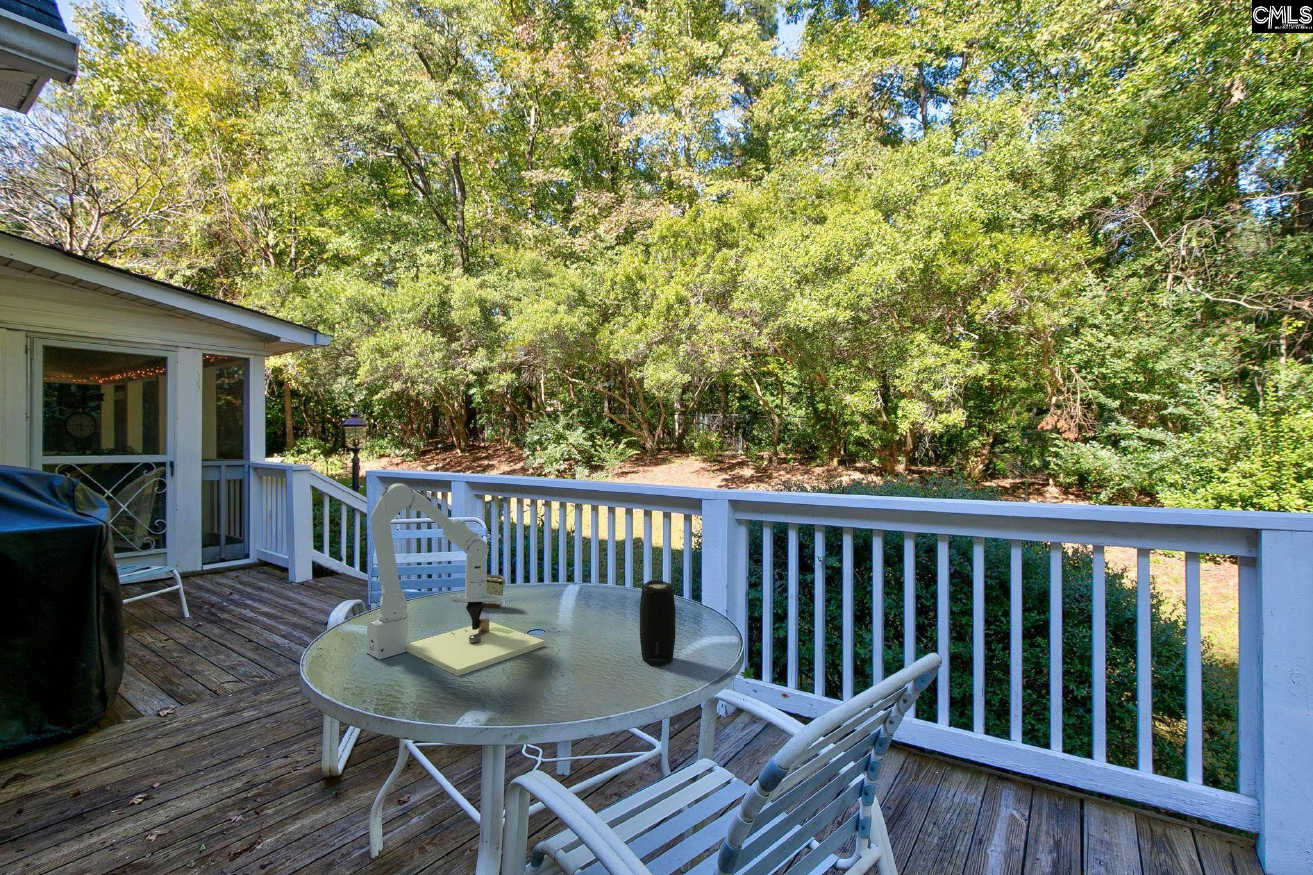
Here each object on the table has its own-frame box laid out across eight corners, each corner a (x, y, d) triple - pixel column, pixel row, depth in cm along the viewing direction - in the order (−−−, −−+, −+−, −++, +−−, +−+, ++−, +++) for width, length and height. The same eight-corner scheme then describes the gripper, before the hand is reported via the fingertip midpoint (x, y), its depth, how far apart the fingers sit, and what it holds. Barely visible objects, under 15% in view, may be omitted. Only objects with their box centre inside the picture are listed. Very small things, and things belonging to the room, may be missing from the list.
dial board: (457, 676, 140) (457, 669, 140) (404, 650, 157) (404, 644, 157) (544, 646, 160) (544, 640, 160) (488, 625, 177) (488, 620, 177)
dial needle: (478, 643, 157) (478, 631, 157) (467, 643, 157) (467, 631, 157) (492, 627, 170) (492, 616, 170) (481, 627, 170) (481, 616, 170)
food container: (511, 604, 200) (511, 574, 200) (504, 609, 194) (504, 579, 194) (475, 603, 201) (475, 573, 201) (468, 608, 195) (468, 578, 195)
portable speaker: (647, 652, 156) (647, 577, 156) (680, 657, 152) (681, 581, 152) (633, 663, 148) (633, 585, 148) (668, 669, 144) (668, 589, 144)
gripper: (506, 577, 170) (506, 624, 170) (457, 576, 171) (457, 623, 171) (497, 583, 163) (497, 632, 163) (446, 582, 164) (446, 631, 164)
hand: (476, 628), depth 166 cm, fingers closed, pressing on dial needle
